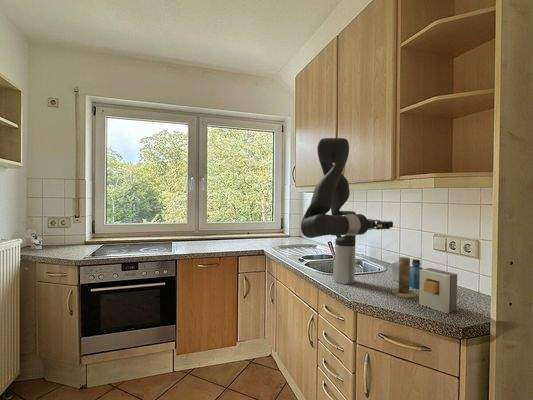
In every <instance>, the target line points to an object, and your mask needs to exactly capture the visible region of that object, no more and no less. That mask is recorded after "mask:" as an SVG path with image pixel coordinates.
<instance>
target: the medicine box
mask: <svg viewBox="0 0 533 400" xmlns="http://www.w3.org/2000/svg"><path fill="white" fill-rule="evenodd" d="M391 266H392V267H391V268H392V269H391V272H392V273H391V280H392V281H394V282H398V283H399V261H394V262H392V264H391Z"/></svg>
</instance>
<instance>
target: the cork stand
mask: <svg viewBox="0 0 533 400" xmlns="http://www.w3.org/2000/svg"><path fill="white" fill-rule="evenodd" d="M391 292H392V295H394V296H395V297H399V298H402V299H403V298H406V299H414V298H416V297H417V292H415V291H414V290H411V289H409V293H408V294H405V293H400V292H399V288H394V289H392V291H391Z"/></svg>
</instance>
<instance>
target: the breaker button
mask: <svg viewBox="0 0 533 400" xmlns="http://www.w3.org/2000/svg"><path fill="white" fill-rule="evenodd" d="M424 291H426V292H429V293H432V294H434V293H438V292H439V282H436V281H432V280H429V281H424Z"/></svg>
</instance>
